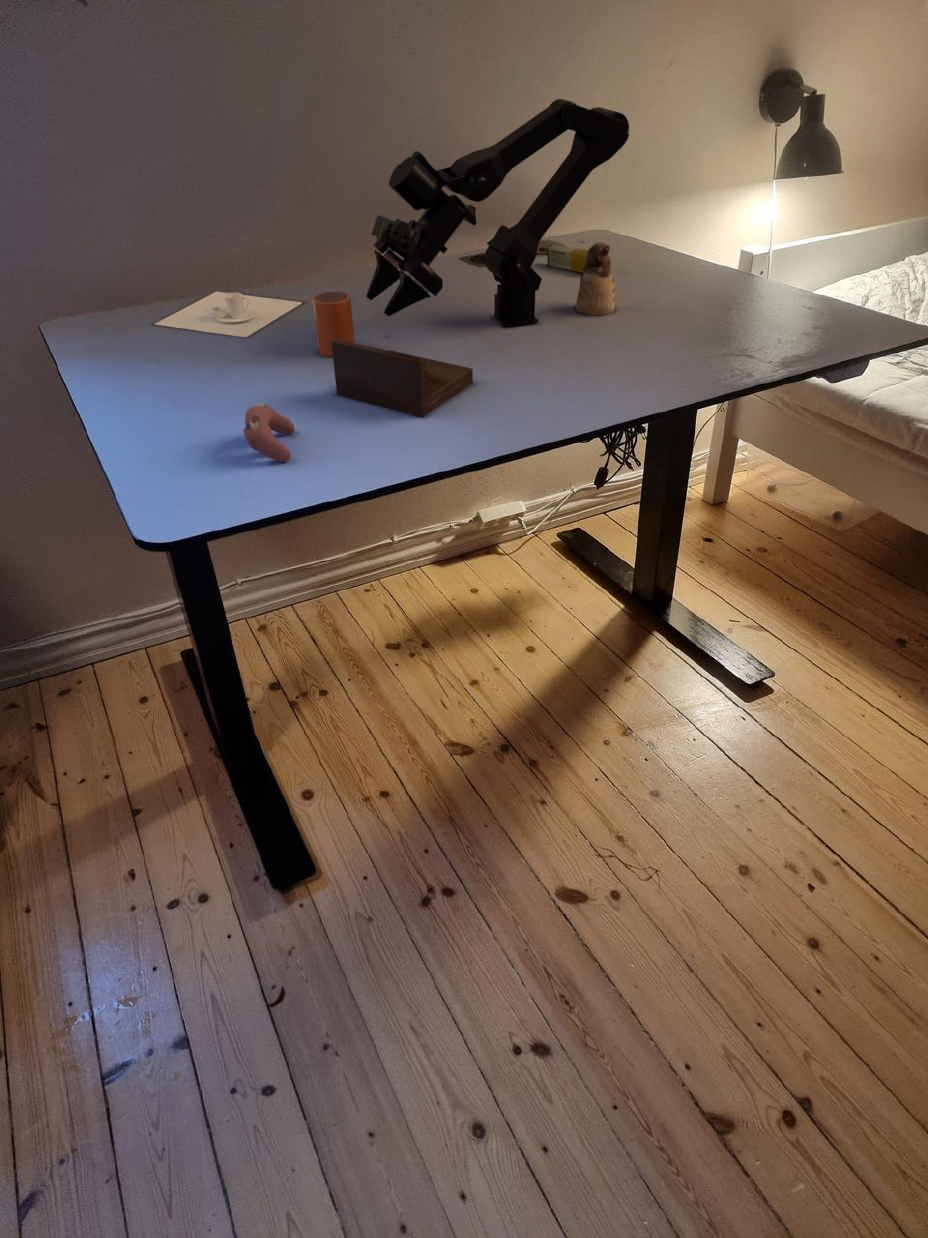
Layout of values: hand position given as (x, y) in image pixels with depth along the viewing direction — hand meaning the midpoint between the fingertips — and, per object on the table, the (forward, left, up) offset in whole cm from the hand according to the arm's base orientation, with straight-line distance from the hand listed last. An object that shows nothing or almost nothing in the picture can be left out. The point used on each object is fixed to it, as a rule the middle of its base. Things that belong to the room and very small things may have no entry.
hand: (376, 306), depth 150 cm
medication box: (-48, -26, -7) cm, 55 cm away
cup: (+8, +1, -6) cm, 10 cm away
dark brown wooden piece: (+1, +21, -6) cm, 22 cm away
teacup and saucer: (+23, -25, -7) cm, 35 cm away
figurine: (-42, -2, -7) cm, 43 cm away
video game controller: (+24, +34, -7) cm, 42 cm away
